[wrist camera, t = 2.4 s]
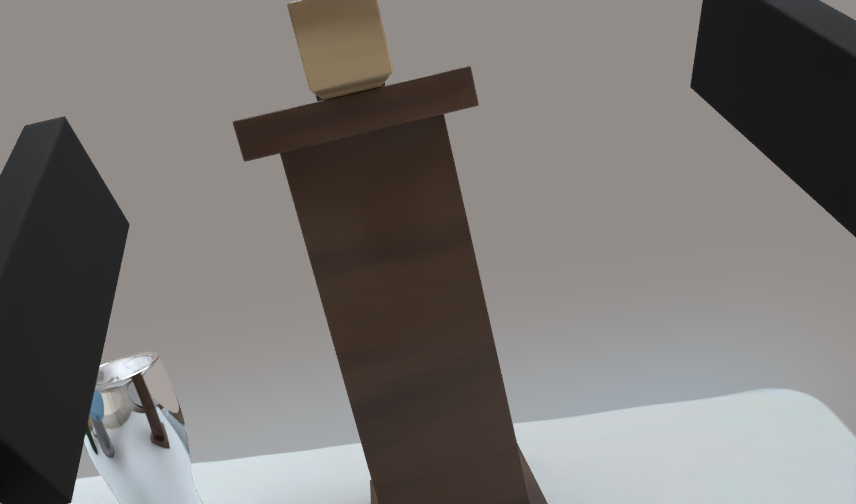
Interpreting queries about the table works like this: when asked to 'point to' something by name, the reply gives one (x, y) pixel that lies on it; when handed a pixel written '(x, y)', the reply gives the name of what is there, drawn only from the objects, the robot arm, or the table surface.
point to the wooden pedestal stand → (401, 287)
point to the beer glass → (140, 433)
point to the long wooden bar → (341, 45)
